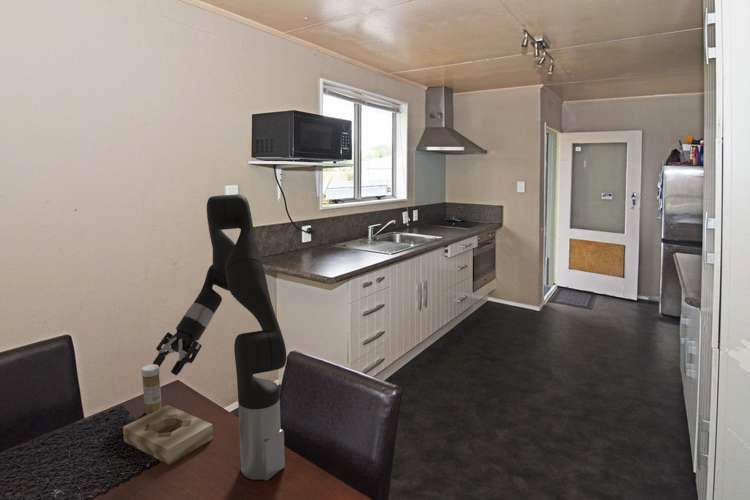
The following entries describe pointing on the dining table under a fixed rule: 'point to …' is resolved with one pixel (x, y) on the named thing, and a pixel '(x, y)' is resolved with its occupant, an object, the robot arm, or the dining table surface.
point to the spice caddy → (168, 434)
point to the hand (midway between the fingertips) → (164, 370)
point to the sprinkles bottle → (151, 388)
